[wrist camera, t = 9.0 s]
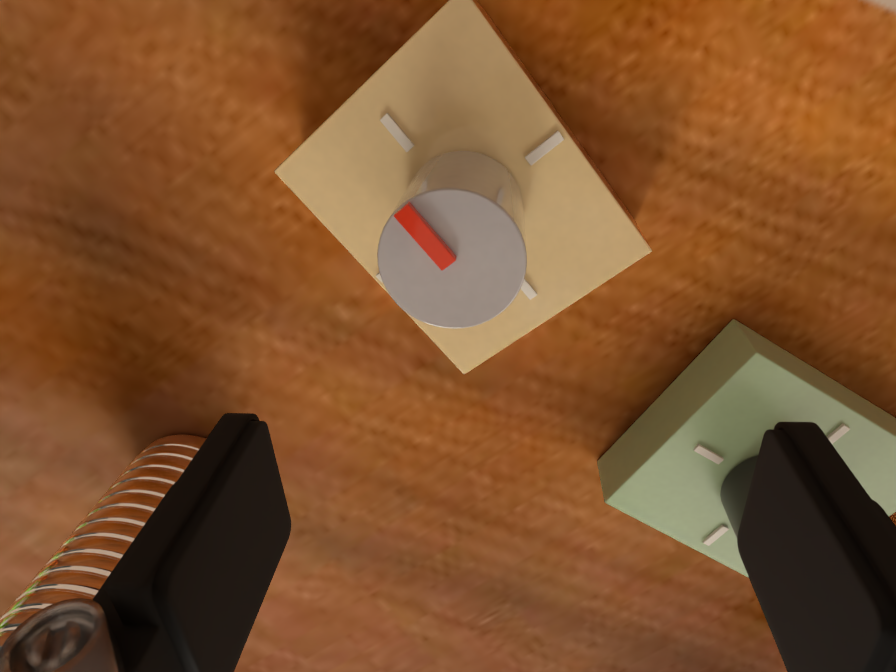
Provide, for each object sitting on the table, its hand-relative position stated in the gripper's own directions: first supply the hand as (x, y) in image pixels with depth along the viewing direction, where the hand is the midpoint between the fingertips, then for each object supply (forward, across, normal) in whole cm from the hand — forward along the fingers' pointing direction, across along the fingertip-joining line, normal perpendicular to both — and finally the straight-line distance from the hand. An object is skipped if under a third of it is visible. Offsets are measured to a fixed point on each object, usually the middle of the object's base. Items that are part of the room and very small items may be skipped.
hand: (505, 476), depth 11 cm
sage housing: (+16, -12, +12) cm, 23 cm away
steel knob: (+12, +2, -1) cm, 13 cm away
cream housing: (+16, +2, -1) cm, 16 cm away
